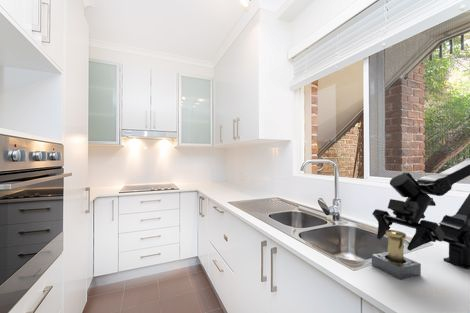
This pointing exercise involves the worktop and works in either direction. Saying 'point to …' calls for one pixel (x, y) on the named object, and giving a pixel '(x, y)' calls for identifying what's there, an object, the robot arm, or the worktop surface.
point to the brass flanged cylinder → (395, 245)
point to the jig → (396, 266)
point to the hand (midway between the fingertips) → (392, 243)
